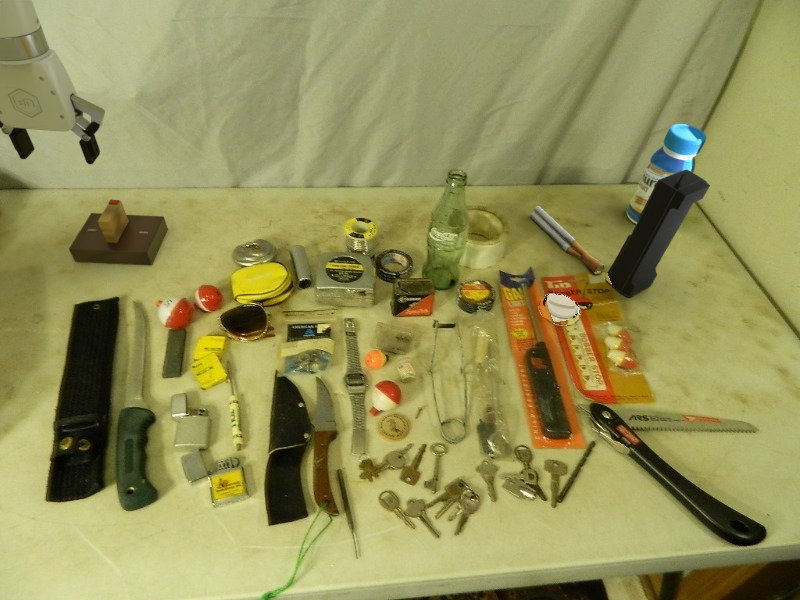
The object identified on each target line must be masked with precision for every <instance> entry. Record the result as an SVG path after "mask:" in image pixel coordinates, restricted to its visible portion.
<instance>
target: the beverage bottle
mask: <svg viewBox="0 0 800 600" xmlns="http://www.w3.org/2000/svg"><path fill="white" fill-rule="evenodd" d="M706 140H707V135H706V134H705V132H704V131H703V130H701V129H699V128H698V127H696V126H693V125H689V124H684V123H675V124H673V125H671V126H670V127H669V129H668V130H667V132H666V134H665V137H664V139H663V142H662V144H663V146H661V147H660V148H658V149H657V150H656V151H655V152H654V153H653V154H652V155H651V157H650V162H649V163H648V164H647V165H646V166H645V168H644V170H643V174H642V176H641V178H640V179H639V183H638V185H637V187H636V189H635V191H634V193H633V196H632V197H631V200H630V202H629V204H628V206H627V208H626V216H627V217H628V219H629V220H630V221H631V222H632V223H634V224H635V225H636V224H637V222H638V220H639V216H640V214H641V213H642V211H643V209H644V207H645V205H646V203H647V201H648V199H649V197H650V195H651V193H652V191H653V189H654V187H655V185H656V183H657V181H658V180H659V179H662V178H664V177H667V176H669V175H672V174H674V173H677V172H679V171H683V170H686V169H687V170H689V171H691V172H692V173H694V172H695V169H696V156H697V155H698V154H699V153H700V152H701V150H702V149H703V147H704V145H705V144H706Z"/></svg>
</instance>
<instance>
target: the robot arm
mask: <svg viewBox="0 0 800 600" xmlns="http://www.w3.org/2000/svg"><path fill="white" fill-rule="evenodd" d="M84 114H86V115H88V116H89V117H90V120H88V119H87V118H85V117H84ZM105 115H106V111H105V109H104V108H102V107H100V106H98V105H96V104H95V103H92V102H90V101H88V100H87V99H85V98H82V97H80V96H79V95H78V93H77V90H76V88H75V86H74V84H73V81H72V79H71V77H70V75H69V73H68V71H67V69H66V67H65V65H64V63H63V62H62V60H61V58H60V57H59V55H58V53H57V52H56V51H55V50H54V49H52V48H51V47H50V46H49V44H48V41H47V38H46V35H45V32H44V29H43V27H42V24H41V22H40V19H39V17H38V13H37V10H36V7H35V5H34V2H33V0H0V129H1V132H2V134H4V135H7V136H8V137H9V140H10V141H11V144H12V146H13V147H14V150H15V151H16V152H17V154H18V156H19V159H20V160H27V159H28V158H29V157H30V155H32V153H33V152H34V151H35V146H34V144H33V141H32V139H31V137H30V135H29V133H28V130H35V131H37V130H38V131H47V132H69V131H71V132H73V133H74V134H75V135H76V136H78V138H80V139H79V141H78V144H79V146H80V149H81V152H82V154H83V157H84V160H85V163H86V164H87V165H93V164H95V161H96V160H97V159H98V158H99V156H100V155H101V150H100V147H99V144H98V141H97V138H96V135H95V134H96V133H97V132H98V131H99V129H100V128H101V127H102V126H103V121H104V118H105Z"/></svg>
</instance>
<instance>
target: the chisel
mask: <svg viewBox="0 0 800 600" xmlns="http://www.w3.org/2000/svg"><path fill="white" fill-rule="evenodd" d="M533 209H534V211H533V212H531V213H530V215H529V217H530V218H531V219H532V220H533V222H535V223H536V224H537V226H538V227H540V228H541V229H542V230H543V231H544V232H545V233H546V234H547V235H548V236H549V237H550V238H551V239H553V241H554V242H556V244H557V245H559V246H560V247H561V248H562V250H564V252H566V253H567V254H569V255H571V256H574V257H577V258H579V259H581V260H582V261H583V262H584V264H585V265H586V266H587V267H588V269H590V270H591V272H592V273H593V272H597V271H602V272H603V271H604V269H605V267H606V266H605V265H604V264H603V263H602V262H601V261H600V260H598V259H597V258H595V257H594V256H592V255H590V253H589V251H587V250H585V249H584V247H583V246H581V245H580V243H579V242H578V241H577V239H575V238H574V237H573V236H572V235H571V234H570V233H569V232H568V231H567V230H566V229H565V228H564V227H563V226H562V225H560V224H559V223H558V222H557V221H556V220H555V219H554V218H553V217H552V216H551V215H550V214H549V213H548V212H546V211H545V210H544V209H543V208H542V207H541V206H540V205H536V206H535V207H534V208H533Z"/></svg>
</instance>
